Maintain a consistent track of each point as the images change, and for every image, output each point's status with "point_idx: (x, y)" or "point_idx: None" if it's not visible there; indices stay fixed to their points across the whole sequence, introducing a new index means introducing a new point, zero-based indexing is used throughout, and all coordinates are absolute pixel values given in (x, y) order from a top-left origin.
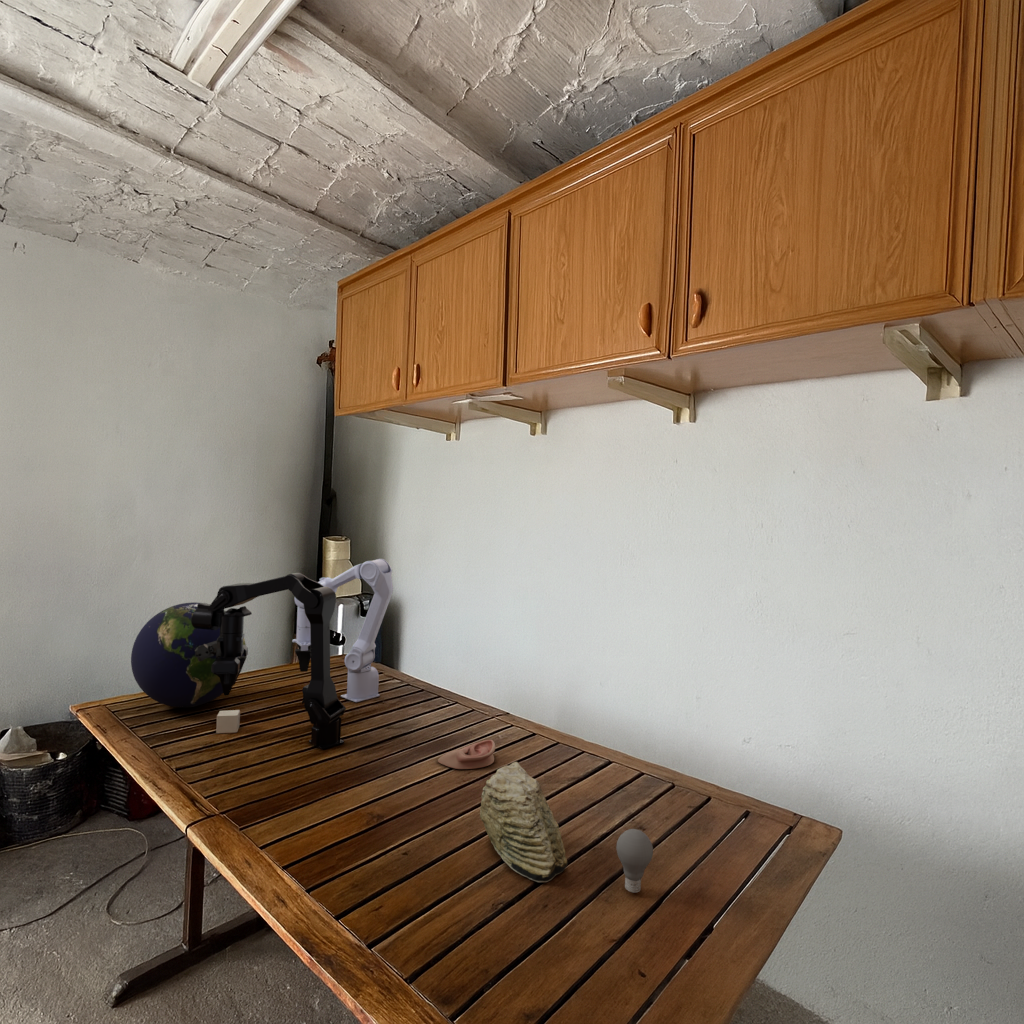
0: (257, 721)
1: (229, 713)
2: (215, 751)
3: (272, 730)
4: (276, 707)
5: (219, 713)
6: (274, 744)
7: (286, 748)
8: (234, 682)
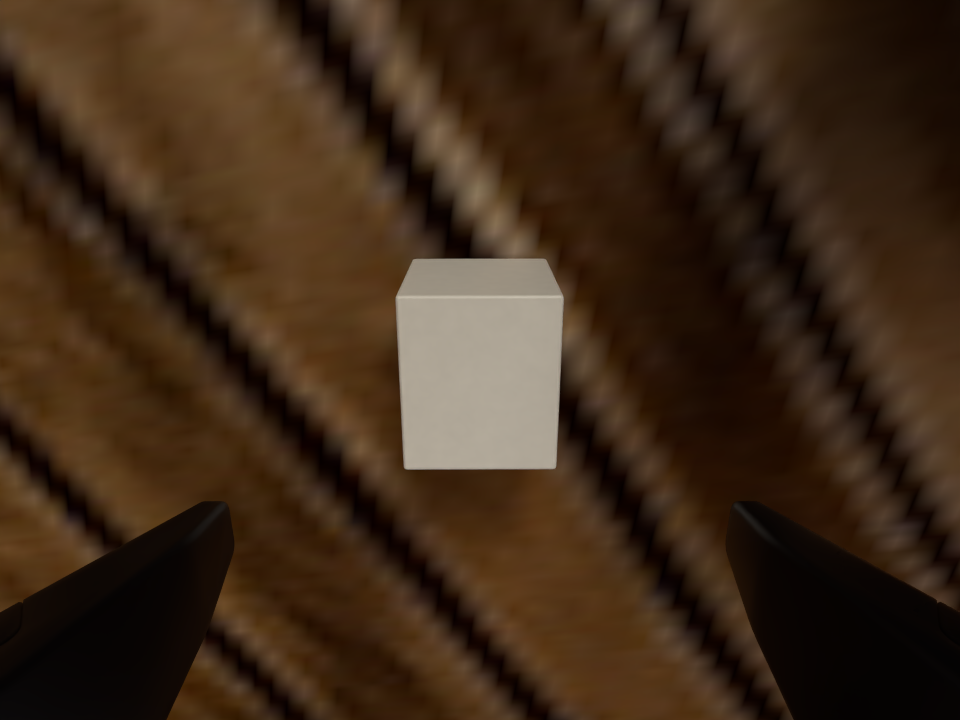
0: (635, 503)
1: (461, 397)
2: (48, 316)
3: (433, 604)
4: None
5: (475, 306)
6: None
7: None
8: (740, 574)
